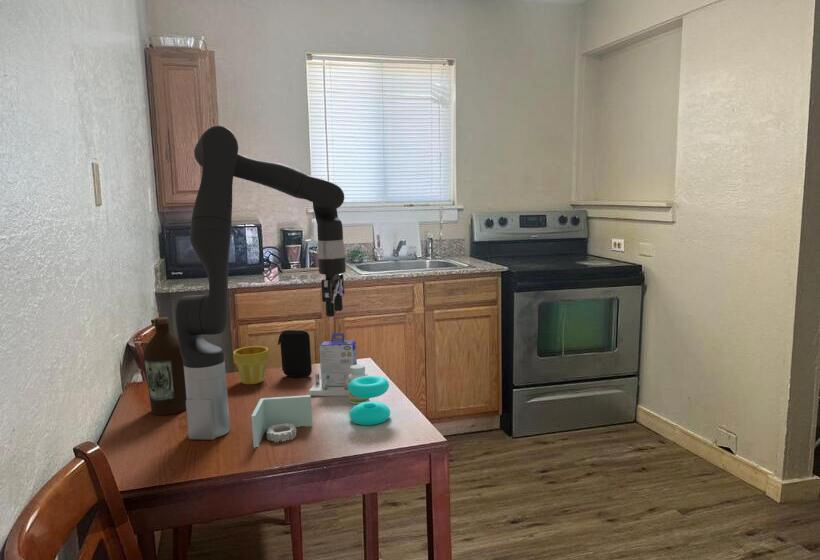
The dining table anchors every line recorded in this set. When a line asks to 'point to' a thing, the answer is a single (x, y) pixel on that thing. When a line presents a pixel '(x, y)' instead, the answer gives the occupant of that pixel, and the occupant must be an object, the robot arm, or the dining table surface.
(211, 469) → the dining table surface
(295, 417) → the right angle wall
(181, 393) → the olive oil
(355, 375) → the supplement bottle
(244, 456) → the dining table surface
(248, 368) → the plant pot
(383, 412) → the donuts
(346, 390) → the pin tray
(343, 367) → the ink cartridge box
